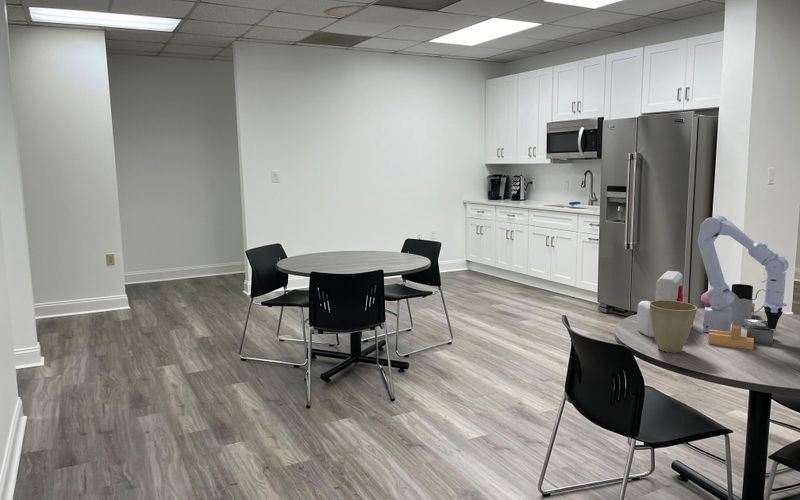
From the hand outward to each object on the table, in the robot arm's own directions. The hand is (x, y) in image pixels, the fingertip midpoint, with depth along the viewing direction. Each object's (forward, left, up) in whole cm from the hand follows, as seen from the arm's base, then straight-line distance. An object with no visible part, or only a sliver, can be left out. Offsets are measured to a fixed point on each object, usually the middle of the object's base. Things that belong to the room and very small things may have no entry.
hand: (771, 327), depth 217 cm
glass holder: (-7, +25, -5) cm, 27 cm away
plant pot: (-30, -28, -5) cm, 42 cm away
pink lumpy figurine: (-8, +37, -5) cm, 38 cm away
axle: (-4, 0, -1) cm, 4 cm away
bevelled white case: (-35, +7, -5) cm, 36 cm away
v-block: (-3, 0, -5) cm, 6 cm away
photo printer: (-40, -11, -5) cm, 42 cm away
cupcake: (-20, +33, -5) cm, 39 cm away
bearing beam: (-13, -11, -5) cm, 18 cm away
